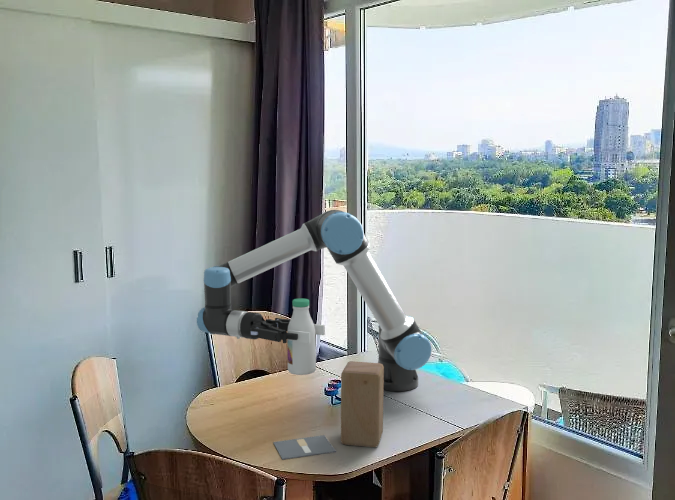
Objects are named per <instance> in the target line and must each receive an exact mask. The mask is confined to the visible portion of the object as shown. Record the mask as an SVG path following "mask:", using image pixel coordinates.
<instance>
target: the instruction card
mask: <svg viewBox="0 0 675 500" xmlns="http://www.w3.org/2000/svg"><path fill="white" fill-rule="evenodd" d="M272 443H273V445H274V447H275V449H276V450H277V453H278V454H279V457H280V458H281V460H282V461H284V460H290V459H297V458H303V457H312V456H317V455H318V456H319V455H324V454H325V455H326V454H330V453H336V452H337V449H336V448H335V447H334V446H333V445H332V443H331V442H330V441H329V440H328V438H327V437H326V435H325V434H323V435H321V434H320V435H314V436H308V437H301V438H294V439H293V438H291V439H286V440H285V439H284V440H278V441H273V442H272Z"/></svg>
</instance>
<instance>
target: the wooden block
mask: <svg viewBox="0 0 675 500" xmlns="http://www.w3.org/2000/svg"><path fill="white" fill-rule="evenodd" d="M340 376H341V377H340V378H341V379H340V380H341V381H340V385H341V386H340V387H341V388H340V442H341V444H342V445H346V446H356V447H367V448H377V447H378V446H379V444H380V442H381V439H382V435H383V431H384V389H383V387H384V366H383V364H381V363H378V362H370V361H369V362H367V361H366V362H365V361H355V360H354V361H353V360H352V361H347V363H346V365H345V366H344V368H343V369H342V371H341V374H340Z"/></svg>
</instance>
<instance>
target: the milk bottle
mask: <svg viewBox="0 0 675 500" xmlns="http://www.w3.org/2000/svg"><path fill="white" fill-rule="evenodd" d="M291 302H292V309H293V311H292V315H291V318H290V319H291V320H290V322H289V325H288V330H295V331H303V332H310V343H304V342H297V341H290V340H288V339H287V343H286V344H287V346H286V347H287V371H288V373H290V374H292V375H297V376H306V375H307V376H308V375H310V374H313V373H315V371H316V370H317V356H316V355H317V349H316V348H317V344H316V343H317V340H316V334H315V327H314V324H315V323H314V321H313V319H312V317H311V314H310V311H309V308H310V299H308V298H294V299H292V301H291ZM287 333H288V331H287Z"/></svg>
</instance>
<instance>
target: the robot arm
mask: <svg viewBox="0 0 675 500" xmlns="http://www.w3.org/2000/svg"><path fill="white" fill-rule="evenodd" d="M325 248H327V251H328V252H329V254H330V255H331V257H332V259H333V261H334V262H335V264H337V265H340V266H343V267H344V269H345V271H346V272H347V274H348V276H349V277H350V279H351V280H352V282H353V284H354V285H355V288H356V289H357V290H358V293H359V295H360V296H361V297H362V299H363V301H364V302H365V304H366V306H367V308H368V309H369V311H370V312H371V315H373V318H374V319H375V320H376V322H377V324H378V325H377V326H378V360H377V363H381V364H383V366H384V387H383V391H384V390H385V391H390V392H407V391H411V390H414V389H416V388H417V387H418V386H419V376H418V371H417V370H418V369H421V368H422V367H423V366H425V365H427V363H428V362H429V360H430V358H431V355H432V344H431V342H430V340H429V339H428V337H427V336H426V335H424V333H423V331H421V329H420V327H419V325H418V324H417V322H416V321H415V318H414V317H413V316H410V315H406V313H405V312H404V310H403V308H402V307H401V304H400V303H399V301H398V300H397V298H396V296H395V295H394V293H393V291H392V289H391V288H390V286H389V284H388V283H387V281H386V279H385V277H384V276H383V274H382V272H381V270H380V269H379V268H378V266H377V263H376V262H375V260H374V259H373V256H372V255H371V253H370V251H369V249H370V242H369V240H368V237H366V235H365V233H364V228H363V225H362V223H361V221H359V219H358V218H357V217H356V216H355V215H353V214H351V213H349V212H346V211H342V210H339V209H331V210H327V211H324V212H323V213H321V214H320V215H317V216H315V217H314V218H311V219H310V220H308V221H306V222H304V223H302V225H301V227H300V228H298V229H297V230H295V231H292V232H289V233H288V234H285V235H284V236H281V237H279V238H277V239H275V240H272V241H270V242H268V243H266V244H264V245H262V246H260V247H257V248H255V249H253V250H250V251H249V252H247V253H244V254H241V255H240V256H238V257H235V258H234V259H231V260H229V261H227V262H224V263H222V264H220V265H214V266H211V267H207V268H205V270H204V272H203V288H204V291H203V292H204V307H202V308H201V309H200V310H199V311H198V313H197V317H196V326H197V328H198V330H200V331H201V332H204V333H207V334H211V335H219V336H227V337H235V338H236V339H237V340H238V339H247V340H253V341H254V340H259V339H262V340H265V341H272V342H276V343H280V342H282V344H287V339H288V340H290V341H297V342H304V343H310V332H303V331H295V330H288V325H289V322H290V320H291V318H288V319H287V318H280V317H275V318H274V319H271V318H266V319H265V318H264V316H263V315H262V314H261V313H260V312H254V311H247V310H246V311H245V310H235V309H232V298H231V297H232V290H231V289H232V288H233V287H234V286H237V285H238V284H241V283H242V282H245V281H246V280H250V279H251V278H254V277H256V276H257V275H260V274H263V273H264V272H266V271H269V270H270V269H273V268H275V267H277V266H279V265H281V264H283V263H286V262H288V261H291V260H293V259H295V258H298V257H299V256H301V255H303V254H305V253H308V252H309V251H313V252H318V251H320V250H322V249H325ZM314 327H315V336H316V335H318V336H325V335H326V325H324V324H319V323H317V324H316V323H314ZM287 331H288V333H287Z"/></svg>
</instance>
